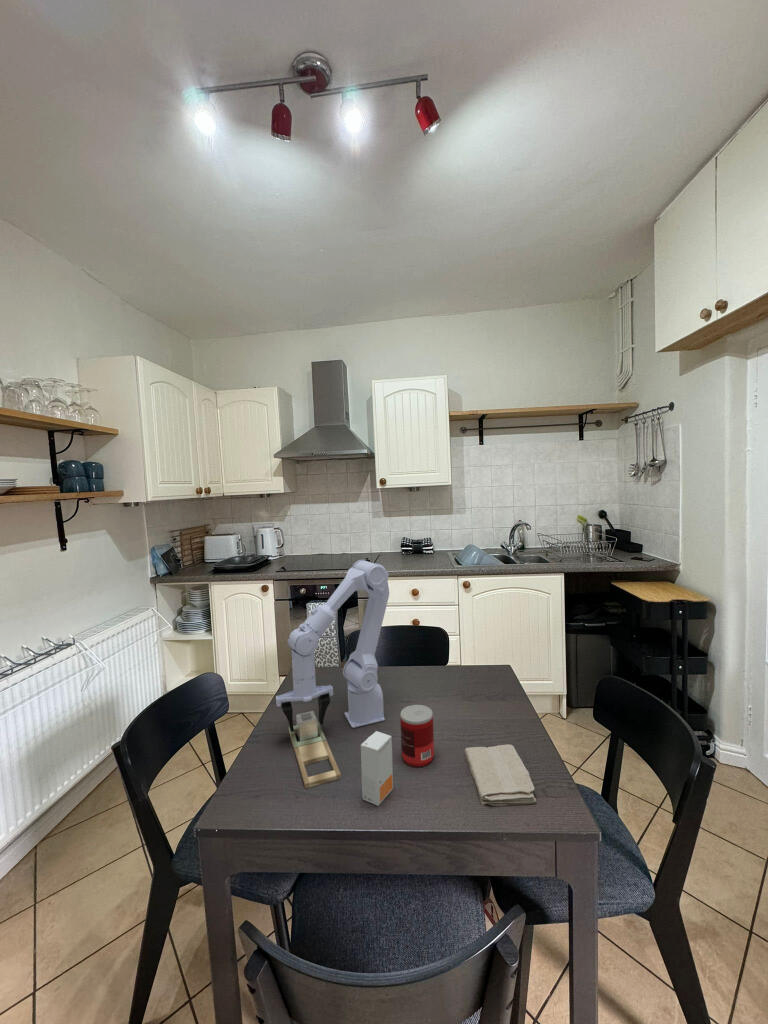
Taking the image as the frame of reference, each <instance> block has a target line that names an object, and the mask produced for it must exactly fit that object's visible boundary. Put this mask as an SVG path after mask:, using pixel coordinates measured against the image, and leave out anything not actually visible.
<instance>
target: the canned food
mask: <svg viewBox="0 0 768 1024" xmlns="http://www.w3.org/2000/svg"><path fill="white" fill-rule="evenodd" d="M399 719H400V721H399V722H400V742H401V745H400V746H401V757H402V759H403V762H405V764H406V765H408V766H411V767H416V768H417V767H418V768H419V767H425V766H427V765H429V764H430V763H432V761H433V759H434V756H435V755H434V754H435V747H434V746H435V744H434V743H435V741H434V739H435V736H434V714H433V710H432V709H431V708H430V707H428V706H427V705H422V704H413V705H408V706H405V707H404V708H402V709H401V711H400V718H399Z"/></svg>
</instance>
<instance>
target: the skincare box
mask: <svg viewBox="0 0 768 1024" xmlns="http://www.w3.org/2000/svg"><path fill="white" fill-rule="evenodd" d="M392 739H393V738H392V735H389V734H386V733H384V732H380V731H377V730H375V731H374V733H372V734H371V735H369V736H368V737H367V739H365V740H364V741H363V742H362V743H361V744H360V761H361V762H360V764H361V765H360V766H361V771H360V772H361V793H362V794H361V795H362V797H361V798H362V800H364V801H365V802H367V803H370V804H373V805H375V806H377V807H380V805H381V804H382V802H384V800H385V799H386V798H387V797H388V795H389V794H391V792H392V791H394V779H393V778H394V775H393V772H394V771H393V741H392Z"/></svg>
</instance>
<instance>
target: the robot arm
mask: <svg viewBox="0 0 768 1024" xmlns="http://www.w3.org/2000/svg"><path fill="white" fill-rule="evenodd" d="M389 577H390V573H389V572H388V571H387V570H386V568H385V567H384V566H383V565H382V564H380V563H374V562H371V561H367V560H365V559H359V560H357V561H355V562H354V563H353V565H352V567H351V568H349V569H348V570H347V573H346V575H345V577H344V578H343V580H341V583H340V584H339V585H338V586H337V588H336V589H335V590H334V592H333V593H332V594H331V596H330V597H329V598H328V599H327V601H326V602H325V604H321V605H317V606H316V607H313V608H312V610H311V611H310V612H311V613H310V614H309V615H308V617H307V618H306V619H305V621H303V623H300V624H299V626H298V627H297V628H295V629H294V630H292V632H290V634H289V638H288V639H287V644H288V647H289V648H290V649H291V664H292V665H291V667H292V671H291V672H292V684H293V685H292V687H293V690H291V691H288V692H286V693H283V694H280V695H276V696H275V703H276V707H277V708H278V707H281V710H282V712H283V714H284V716H285V717H286V720H287V722H288V725H289V726H288V727H290V731H291V732H293V731H294V727H293V726H294V720H293V719H294V718H293V716H294V715H293V711H294V710H293V706H292V703H296V702H299V701H300V702H303V703H307V702H311V701H312V699H315V698H317V704H318V722H319V724H320V726H323V725H324V720H325V715H326V712H327V710H328V707H329V705H330V703H331V698H330V696H334V688H333V686H332V684H329V685H319V686H318V685H317V683H316V666H315V651H316V650H317V648H318V643H319V640H320V637H322V635H324V633H325V631H327V629H328V628H329V627H330V626H331V625H332V624H333V622H334V621H335V618H336V617H335V613H336V612H337V611H338V610H339V609H340V608H341V607H342V605H343V604H344V603H345V602H346V601H347V600H348V599H349V598H350V597H351V596H352V595H353V594H354V592H355V593H356V592H358V591H363V590H365V591H366V593H367V594H368V599H367V603H366V606H365V607H366V608H365V612H364V615H363V619H362V623H361V628H360V632H359V634H358V635H359V636H358V639H357V643H356V647H355V650H354V651H352V652H351V653H350V654H349V657H348V660H347V662H346V663H345V664H344V667H343V669H342V674H343V677H344V679H345V680H346V681H347V702H348V706H347V707H348V711H345V712H344V715H345V718H346V719H347V721H348V723H349V725H350V726H351V728H352V729H354V728H358V727H363V726H366V725H371V724H376V723H379V722H383V721H385V720H386V718H385V716H384V695H383V689H382V687H381V685H380V684H379V683H378V676H379V675H378V668H379V665H378V661H377V660H376V656H375V654H376V651H377V647H378V642H379V638H380V634H381V631H382V630H381V629H382V625H383V621H384V618H385V613H386V609H387V605H388V600H389V597H390V588H389Z"/></svg>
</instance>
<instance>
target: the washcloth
mask: <svg viewBox="0 0 768 1024" xmlns="http://www.w3.org/2000/svg"><path fill="white" fill-rule="evenodd" d="M463 754H464V755H465V759H466V760H467V763H468V767H469V770H470V773H471V776H472V778H473V780H474V784H475V786H476V789H477V792H478V796H479V797H478V798H479V800H480V803H481V805H482V806H485V805H489V806H495V807H497V806H510V805H529V804H536V803H537V799H536V797H535V795H534V793H533V792H534V791H535V785H534V784H533V782H532V779H531V776H530V773H529V772H530V771H528V770H527V768H526V766H525V764H524V763H523V761H522V759H521V757H520V756H519V754H518V752H517V750H516V749H515V746H514V745H512V744H507V743H506V744H500V745H495V746H488V747H486V746H472V747H466V748H465V749H464V752H463Z"/></svg>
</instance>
